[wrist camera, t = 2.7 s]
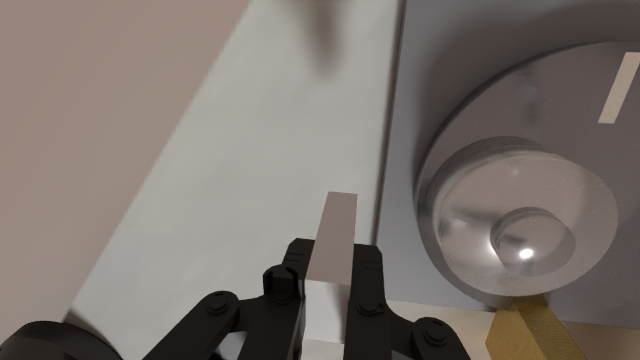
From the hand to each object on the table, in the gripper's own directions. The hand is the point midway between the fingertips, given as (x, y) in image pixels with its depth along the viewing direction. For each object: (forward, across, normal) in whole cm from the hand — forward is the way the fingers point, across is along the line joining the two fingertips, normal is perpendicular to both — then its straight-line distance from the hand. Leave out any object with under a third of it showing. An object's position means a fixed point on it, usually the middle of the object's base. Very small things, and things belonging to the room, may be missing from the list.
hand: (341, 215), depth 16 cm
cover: (+4, -9, 0) cm, 10 cm away
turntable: (+6, -14, +3) cm, 15 cm away
